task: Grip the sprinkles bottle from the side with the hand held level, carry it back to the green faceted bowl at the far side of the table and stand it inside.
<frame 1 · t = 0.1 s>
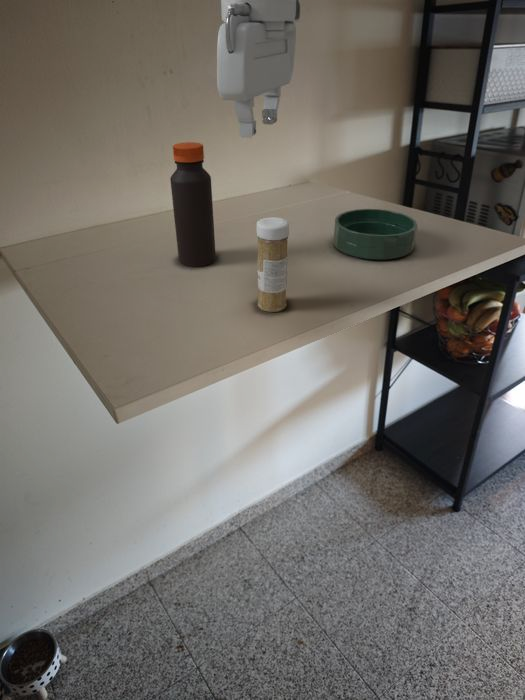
hand: (259, 129, 67), 25 cm above the table, tool pointing down, fingers open, 8 cm apart
green faceted bowl: (372, 246, 97), on the table
sprinkles bottle: (272, 307, 77), on the table
vinegar: (197, 261, 92), on the table
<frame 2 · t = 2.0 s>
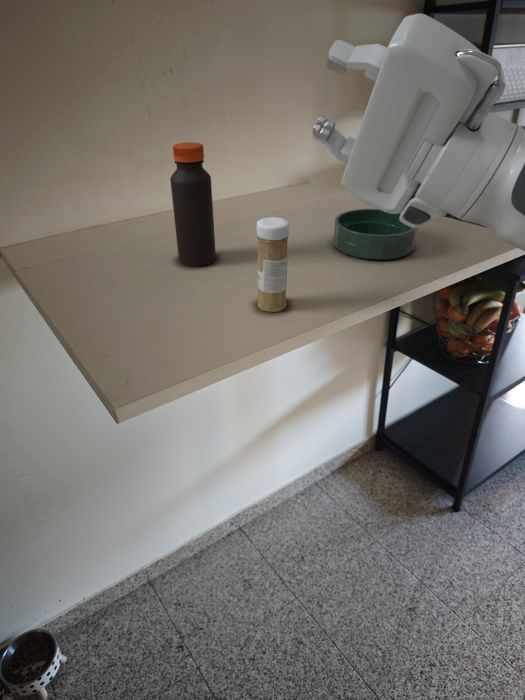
hand: (322, 93, 46), 31 cm above the table, tool pointing upward, fingers open, 8 cm apart
nothing on the table moved.
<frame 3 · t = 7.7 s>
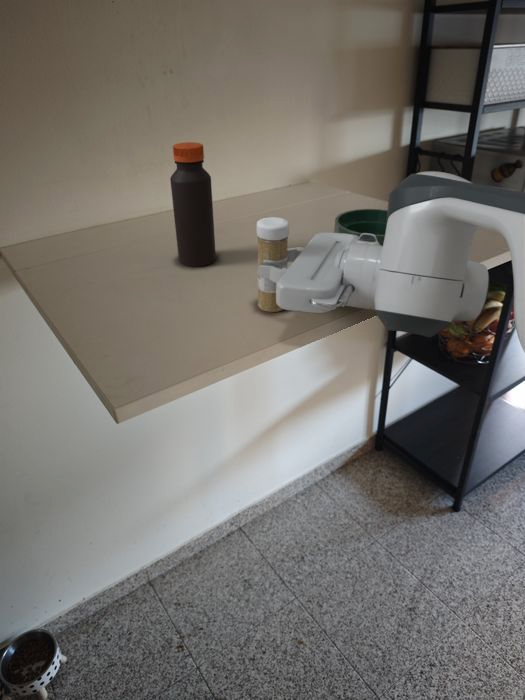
hand: (266, 261, 73), 7 cm above the table, tool horizontal, fingers closed on sprinkles bottle, 4 cm apart
sprinkles bottle: (272, 307, 77), on the table, touching gripper
everything else where it was.
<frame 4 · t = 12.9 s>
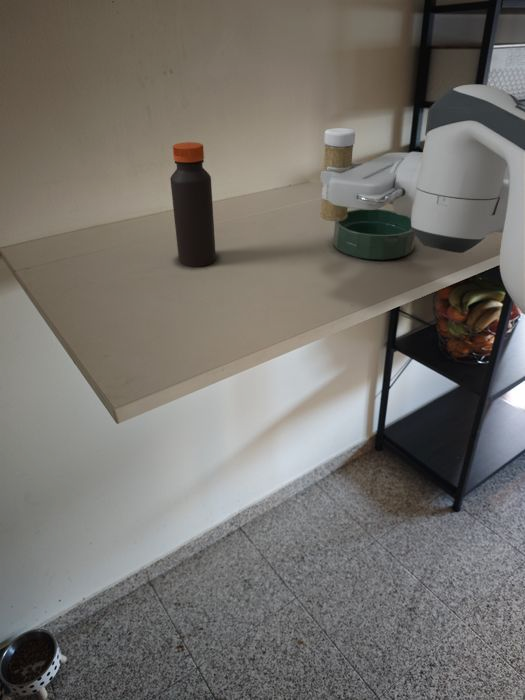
hand: (332, 171, 78), 17 cm above the table, tool horizontal, fingers closed on sprinkles bottle, 4 cm apart
sprinkles bottle: (333, 219, 82), point 9 cm above the table, touching gripper
everything else where it was.
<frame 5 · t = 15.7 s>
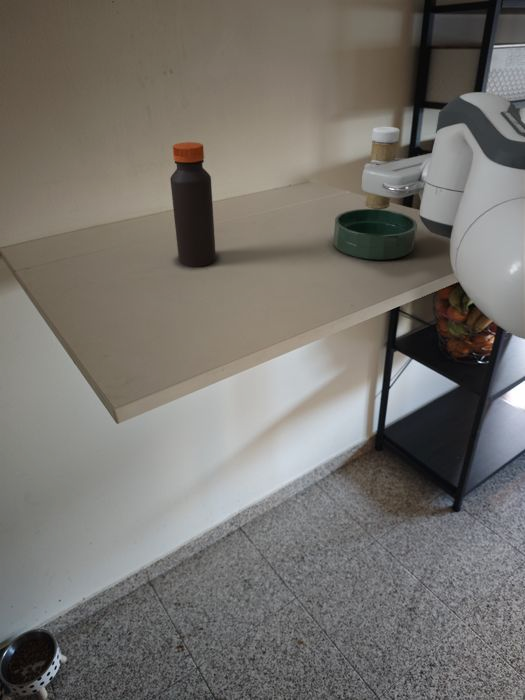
hand: (378, 165, 89), 15 cm above the table, tool horizontal, fingers closed on sprinkles bottle, 4 cm apart
sprinkles bottle: (376, 207, 92), point 8 cm above the table, touching gripper
everything else where it was.
when the fingers open (8 cm above the table, at t = 18.1 s): sprinkles bottle stays where it is, resting on green faceted bowl.
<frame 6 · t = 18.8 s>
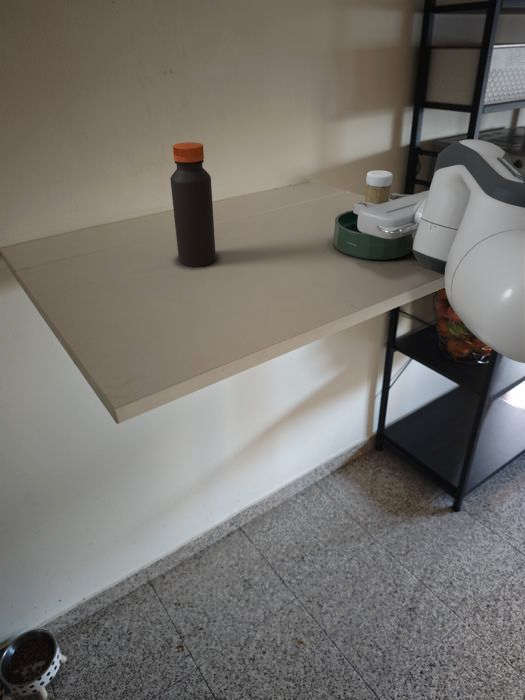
hand: (373, 202, 93), 8 cm above the table, tool horizontal, fingers open, 8 cm apart
sprinkles bottle: (371, 245, 96), resting on green faceted bowl
everything else where it was.
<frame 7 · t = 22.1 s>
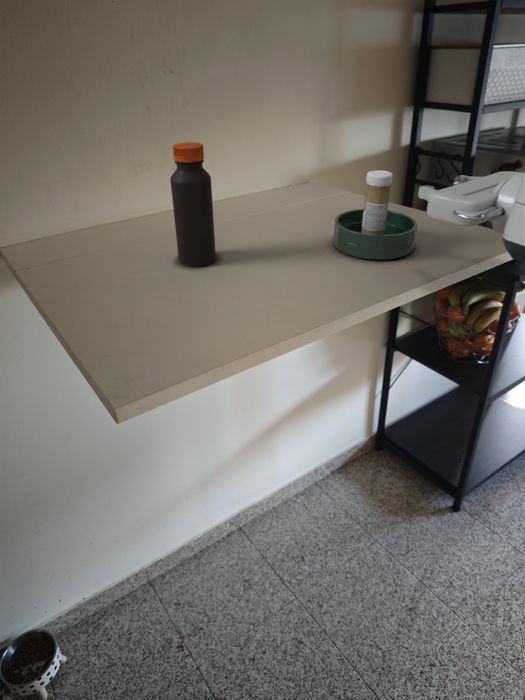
hand: (439, 185, 81), 14 cm above the table, tool horizontal, fingers open, 8 cm apart
nothing on the table moved.
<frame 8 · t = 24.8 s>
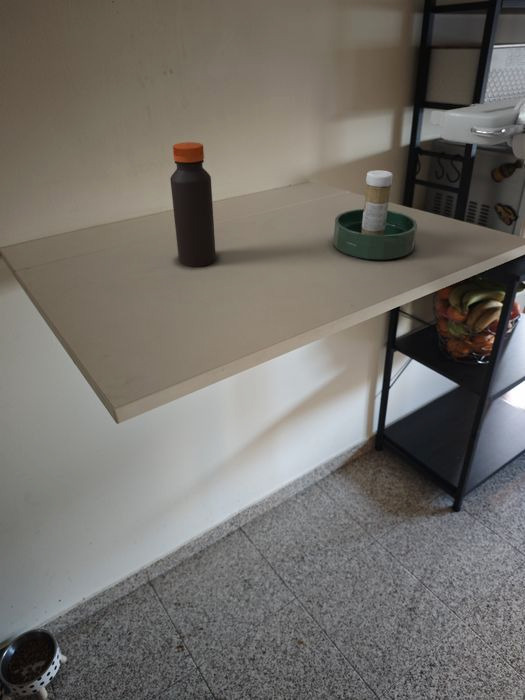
hand: (452, 113, 75), 25 cm above the table, tool horizontal, fingers open, 8 cm apart
nothing on the table moved.
at the end: sprinkles bottle inside the target area in the green faceted bowl (0.4 cm from its centre), point 0.4 cm above the green faceted bowl's base; sprinkles bottle tilted 0°; the gripper is holding nothing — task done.
